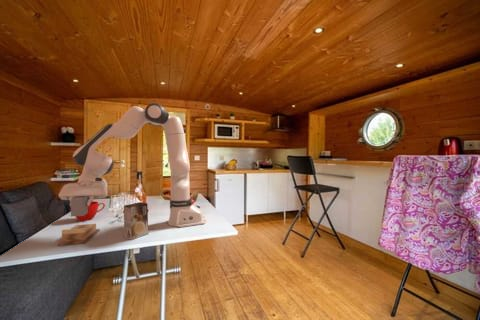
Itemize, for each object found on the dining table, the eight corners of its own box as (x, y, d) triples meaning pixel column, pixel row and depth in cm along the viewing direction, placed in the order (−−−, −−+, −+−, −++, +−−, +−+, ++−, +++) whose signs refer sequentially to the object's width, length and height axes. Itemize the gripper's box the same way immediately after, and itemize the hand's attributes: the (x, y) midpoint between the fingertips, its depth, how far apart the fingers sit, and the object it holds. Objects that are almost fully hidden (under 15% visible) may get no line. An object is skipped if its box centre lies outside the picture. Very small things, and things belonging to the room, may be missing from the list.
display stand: (99, 231, 112) (99, 219, 112) (85, 243, 96) (85, 229, 96) (75, 233, 109) (75, 220, 109) (57, 246, 94) (57, 231, 93)
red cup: (108, 217, 136) (108, 202, 135) (76, 224, 123) (75, 207, 122) (101, 213, 144) (101, 199, 144) (70, 219, 131) (70, 204, 131)
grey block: (87, 212, 105) (87, 197, 105) (83, 215, 101) (83, 199, 100) (76, 213, 104) (76, 197, 104) (70, 216, 99) (70, 199, 99)
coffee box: (141, 231, 111) (140, 201, 111) (148, 234, 108) (148, 203, 107) (123, 237, 103) (123, 205, 103) (131, 240, 100) (130, 207, 99)
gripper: (62, 179, 106) (51, 203, 97) (107, 178, 112) (101, 200, 102) (67, 187, 111) (56, 210, 102) (110, 185, 116) (104, 207, 107)
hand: (79, 205), depth 102 cm, fingers closed on grey block, 5 cm apart
